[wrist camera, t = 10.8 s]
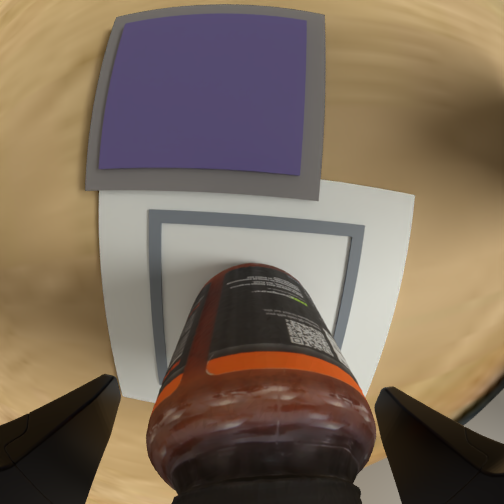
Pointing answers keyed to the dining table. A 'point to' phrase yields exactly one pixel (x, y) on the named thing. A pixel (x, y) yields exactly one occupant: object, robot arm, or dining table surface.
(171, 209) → the form board
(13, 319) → the dining table surface
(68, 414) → the robot arm
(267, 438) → the supplement bottle
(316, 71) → the ink pad
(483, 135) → the dining table surface
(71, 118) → the dining table surface
